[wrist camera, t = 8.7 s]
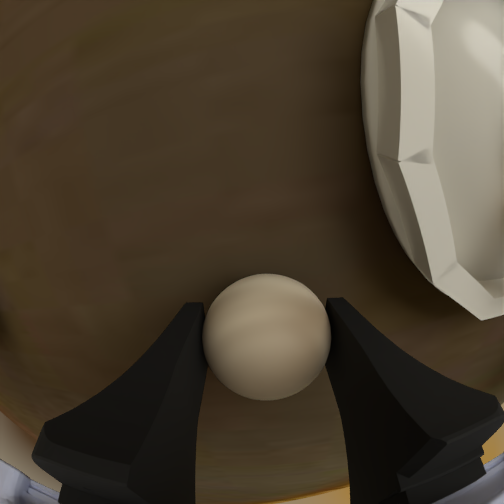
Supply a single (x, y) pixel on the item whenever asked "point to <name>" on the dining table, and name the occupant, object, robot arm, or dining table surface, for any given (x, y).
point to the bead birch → (266, 337)
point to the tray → (440, 139)
